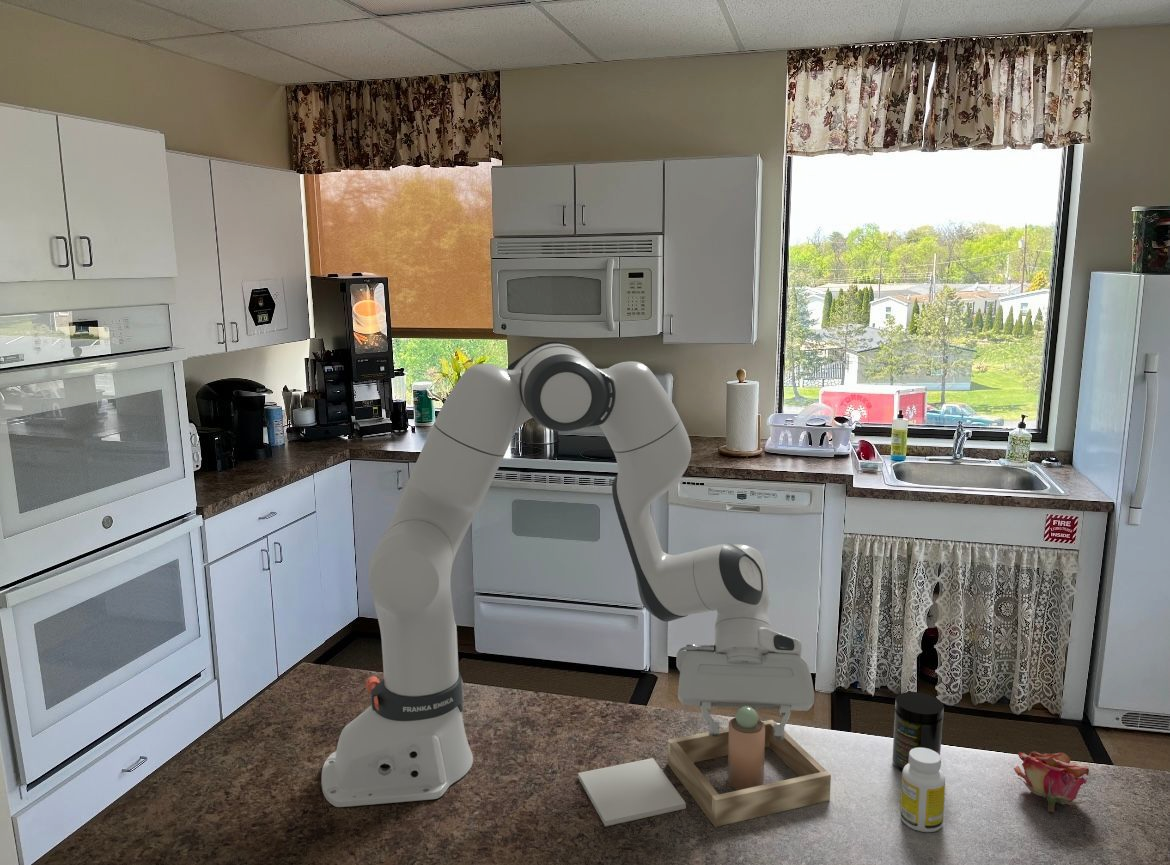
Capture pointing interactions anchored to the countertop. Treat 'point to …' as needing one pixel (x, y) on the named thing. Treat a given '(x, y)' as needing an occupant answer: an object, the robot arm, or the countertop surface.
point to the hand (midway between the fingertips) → (746, 737)
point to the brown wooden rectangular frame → (755, 799)
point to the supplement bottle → (923, 791)
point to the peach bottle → (746, 750)
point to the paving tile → (630, 791)
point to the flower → (1052, 777)
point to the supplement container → (916, 725)
